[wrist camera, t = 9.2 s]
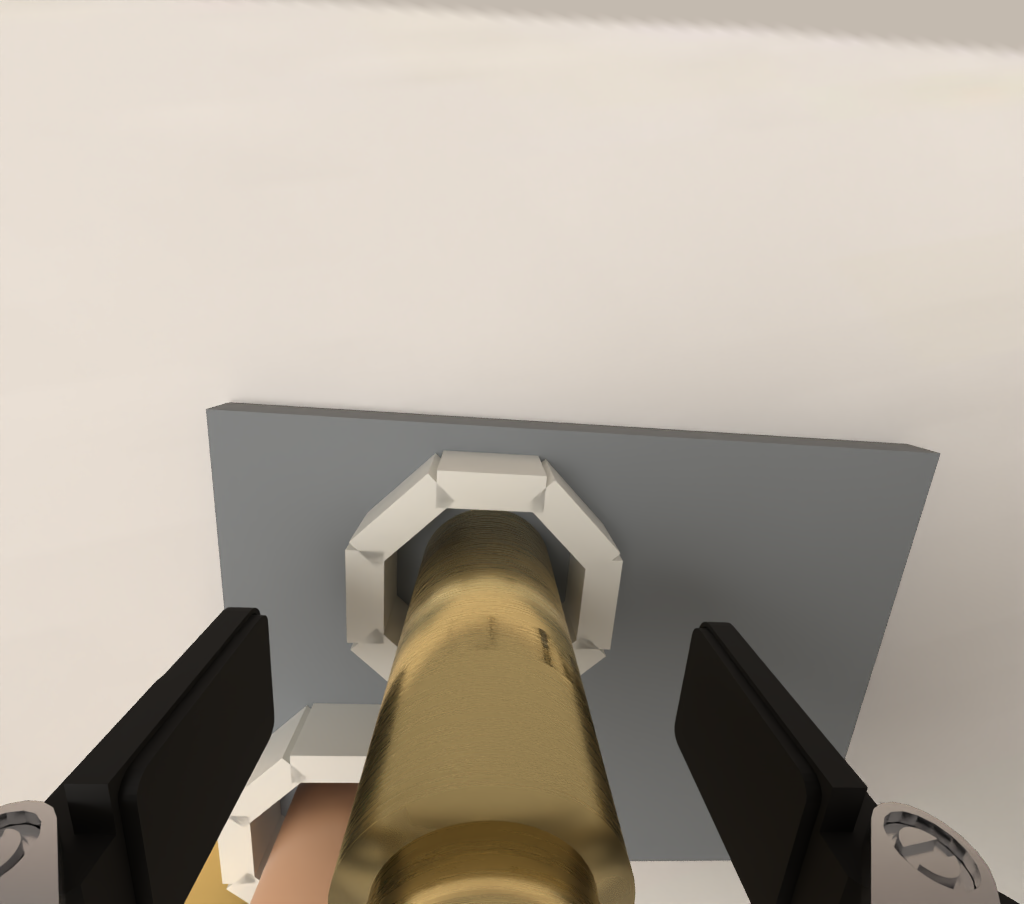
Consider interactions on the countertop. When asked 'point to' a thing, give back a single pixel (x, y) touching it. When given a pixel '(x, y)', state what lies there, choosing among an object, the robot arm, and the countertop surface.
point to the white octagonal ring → (479, 487)
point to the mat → (630, 523)
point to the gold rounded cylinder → (484, 742)
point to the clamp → (212, 884)
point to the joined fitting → (297, 806)
